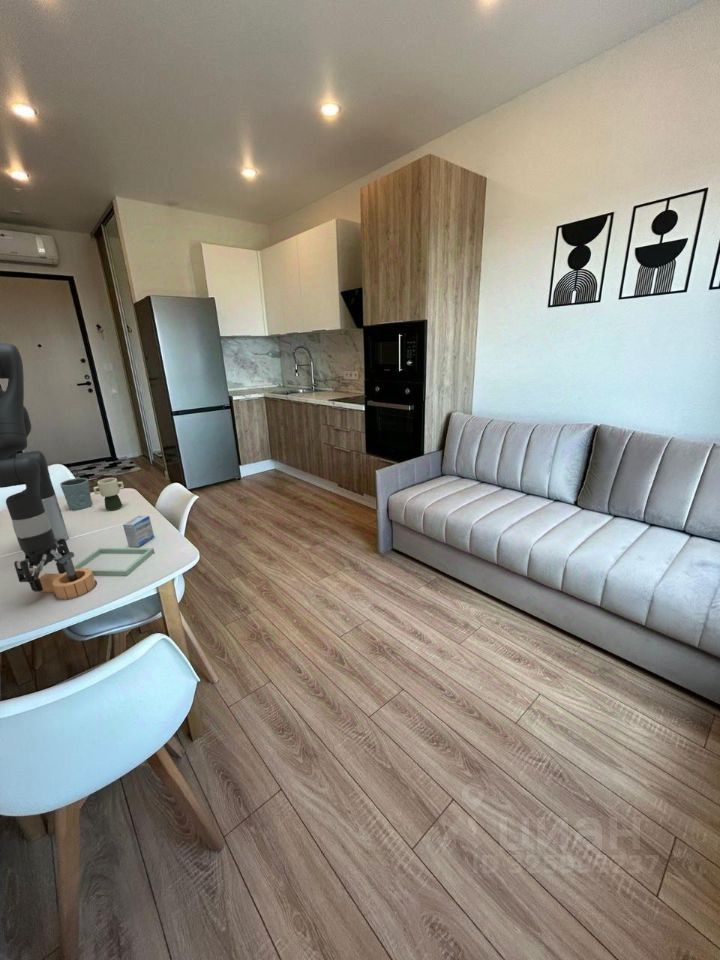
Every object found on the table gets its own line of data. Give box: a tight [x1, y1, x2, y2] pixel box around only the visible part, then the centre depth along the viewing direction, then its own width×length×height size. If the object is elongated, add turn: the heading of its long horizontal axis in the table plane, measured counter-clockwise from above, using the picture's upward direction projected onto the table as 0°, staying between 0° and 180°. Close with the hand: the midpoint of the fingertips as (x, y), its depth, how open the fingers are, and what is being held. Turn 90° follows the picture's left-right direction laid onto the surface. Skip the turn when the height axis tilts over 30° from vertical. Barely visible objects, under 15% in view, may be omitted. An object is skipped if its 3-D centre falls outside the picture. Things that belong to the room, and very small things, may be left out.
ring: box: [38, 567, 95, 600], centre depth 109 cm, size 14×9×4 cm, turn 85°
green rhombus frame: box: [73, 547, 156, 577], centre depth 123 cm, size 19×14×2 cm
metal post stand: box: [54, 551, 98, 601], centre depth 108 cm, size 10×10×12 cm
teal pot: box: [59, 477, 93, 512], centre depth 171 cm, size 10×10×12 cm
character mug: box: [93, 477, 125, 511], centre depth 167 cm, size 11×7×13 cm, turn 128°
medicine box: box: [122, 514, 155, 548], centre depth 137 cm, size 8×4×9 cm, turn 168°
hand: (51, 582), depth 110 cm, fingers open, 8 cm apart
